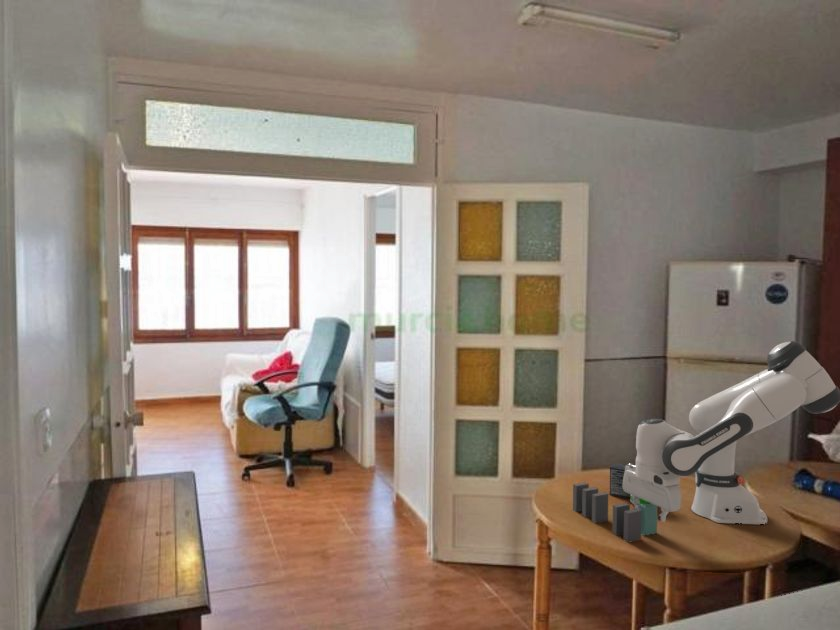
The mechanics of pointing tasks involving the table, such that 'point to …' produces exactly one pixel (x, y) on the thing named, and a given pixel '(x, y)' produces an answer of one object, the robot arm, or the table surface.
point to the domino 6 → (648, 519)
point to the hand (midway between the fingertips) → (649, 515)
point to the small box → (617, 481)
